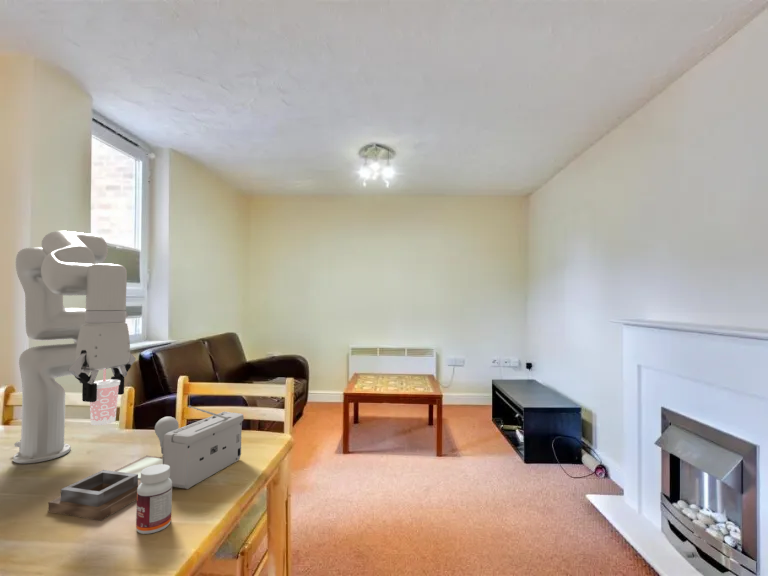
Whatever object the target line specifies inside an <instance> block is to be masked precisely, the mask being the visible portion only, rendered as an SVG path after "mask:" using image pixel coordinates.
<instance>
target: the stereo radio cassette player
mask: <svg viewBox="0 0 768 576" xmlns="http://www.w3.org/2000/svg"><path fill="white" fill-rule="evenodd" d="M188 408H190V409H191V408H192V409H195V410H196V411H201V412H202V413H206V414H209V415H211V416H209V417H206V418H203V419H200V420H198V421H195V422H192V423H190V424H188V425H185V426H182V427H178V429H176V430H173V431H171V432H168V433H166V434H165V435H164V440H163V454H162V457H163V464H165V465H169V466H170V477H169V478H170V479H171V481H172V488H180V489H186V490H189V489H190V488H191V487H193V486H195V485H197V484H199V483H201V482H202V481H204V480H205V479H208V478H209V477H211V476H213V475H215V474H216V473H218V472H220V471H222V470H223V469H226V468H227V467H229V466H231V465H233V464H234V463H236V462H238V461H239V460H240V459H241V455H242V426H243V421H244V420H245V419H244V418H245V417H244V414H243V413H240V412H239V413H238V412H230V411H221V412H219V413H215V412H212V411H208V410H204V409H201V408H197V407H193V406H192V405H188Z"/></svg>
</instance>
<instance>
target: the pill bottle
mask: <svg viewBox="0 0 768 576" xmlns="http://www.w3.org/2000/svg"><path fill="white" fill-rule="evenodd" d="M169 477H170V466H169V465H165V464H159V465H153V466H149V467H147V468H145V469H143V470H142V471H141V478H140V481H141V482H142V483H141V484H140V485H139V486H138V488H137V500H136V513H135V514H136V515H135V516H136V517H135V521H136V522H135V528H136V531H137V532H138V533H139V534H142V535H149V534H155V533H158V532H161V531H163V530H165V529H166V528H167V527H168V526H169V525H170V524H171V522H172V505H173V502H172V501H173V500H172V499H173V486H172V481H171V479H170V478H169Z"/></svg>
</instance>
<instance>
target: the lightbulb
mask: <svg viewBox="0 0 768 576" xmlns="http://www.w3.org/2000/svg"><path fill="white" fill-rule="evenodd" d="M179 428H180V427H179V422H178V420H177V419H176V417H172V416H164V417H162V418H159V420H158V421H157V422H156V423H155V425H154V433H155V434H156V437H157V438H158V440H159V446H160V452H161V453H160V454H161V455H163V440H164V435H165V434H166V433H168V432H171V431H173V430H176V429H179Z"/></svg>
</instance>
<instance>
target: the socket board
mask: <svg viewBox="0 0 768 576" xmlns="http://www.w3.org/2000/svg"><path fill="white" fill-rule="evenodd" d="M159 464H163V456H155V455H154V456H153V455H145V456H143V457H140V458H139V459H137V460H135V461H134V460H133V461H132V462H130V463H128V464H126V465H124V466H121V467H119V468H118V469H115V470H109V469H108V470H107V469H102V470H99V471H98V472H95V473H93V474H92V475H89V476H87V477H85V478H82V479H80V480H78V481H76V482H74V483H72V484H69V485H68V486H64V487H63V488H61V489H60V496H59V497H57V498H54V499H52V500H50V501H48V505H47V512H48V513H53V514H60V515H66V516H71V517H78V518H84V519H89V520H96V521H103V520H105V519H106V518H108V517H110V516H111V515H113V514H114V513H116V512H118V511H120V510H122V509H123V508H125V507H127V506H129V505H130V504H132V503H133V502H136V501H137V488H138V486H139V485H140V484H141V483H142V482H141V481H140V478H141V471H142V470H143V469H145V468H147V467H149V466H153V465H159Z"/></svg>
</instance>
